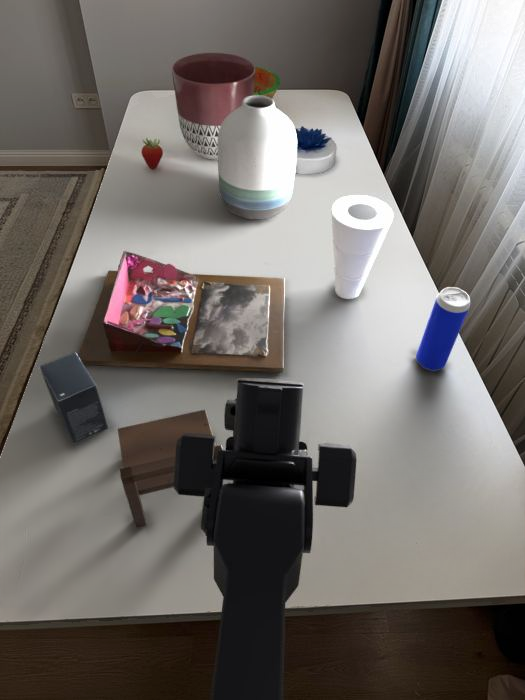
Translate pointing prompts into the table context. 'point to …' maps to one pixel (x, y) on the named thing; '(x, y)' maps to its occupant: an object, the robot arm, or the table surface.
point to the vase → (256, 159)
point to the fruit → (152, 153)
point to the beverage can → (443, 328)
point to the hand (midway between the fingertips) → (266, 453)
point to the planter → (209, 95)
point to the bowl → (265, 82)
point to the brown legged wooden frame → (155, 455)
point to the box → (74, 397)
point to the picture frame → (185, 320)
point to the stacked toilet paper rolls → (357, 240)
